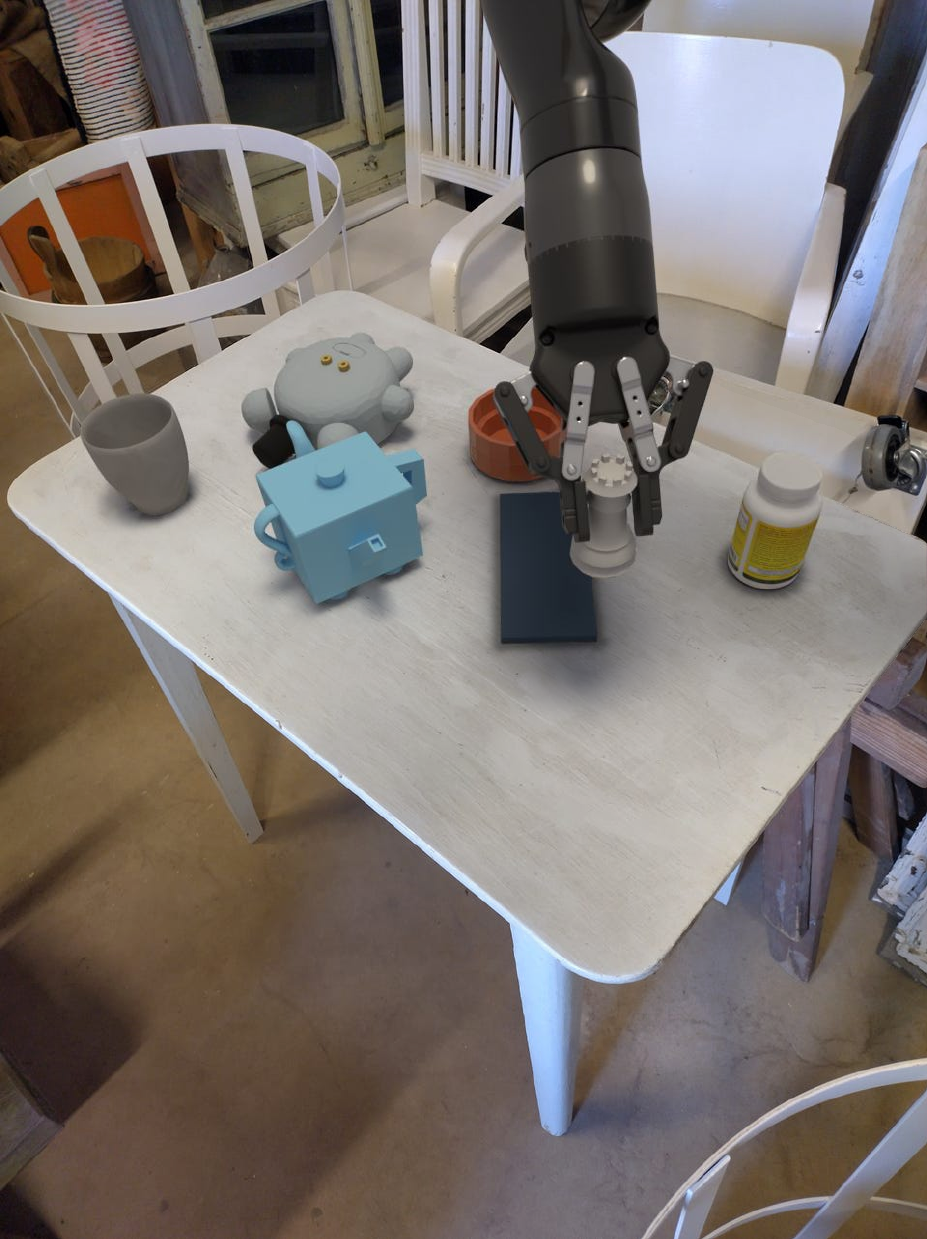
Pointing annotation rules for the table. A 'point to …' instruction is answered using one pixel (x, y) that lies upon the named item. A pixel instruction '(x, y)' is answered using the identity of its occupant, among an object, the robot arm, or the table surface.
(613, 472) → the rook chess piece
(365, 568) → the teapot
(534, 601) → the rectangular board
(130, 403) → the mug
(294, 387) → the figurine
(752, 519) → the pill bottle
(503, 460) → the bowl
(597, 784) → the table surface
